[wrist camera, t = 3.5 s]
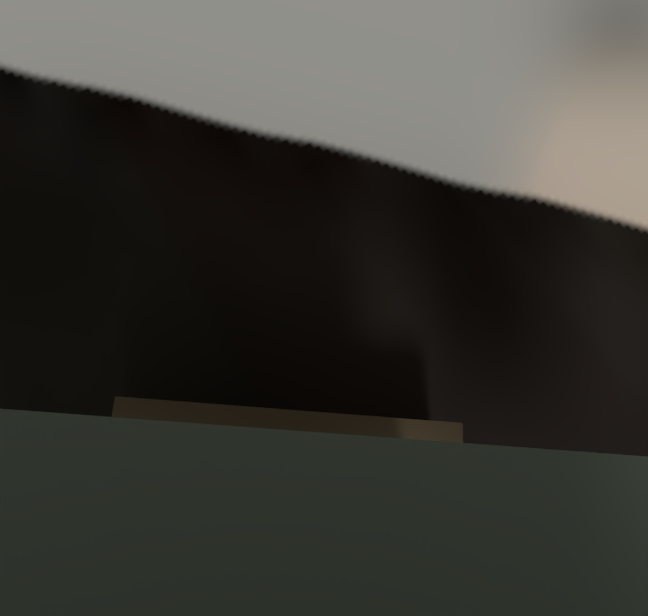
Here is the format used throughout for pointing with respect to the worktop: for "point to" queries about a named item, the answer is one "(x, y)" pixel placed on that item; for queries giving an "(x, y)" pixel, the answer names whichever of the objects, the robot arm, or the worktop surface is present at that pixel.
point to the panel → (309, 523)
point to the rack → (286, 419)
